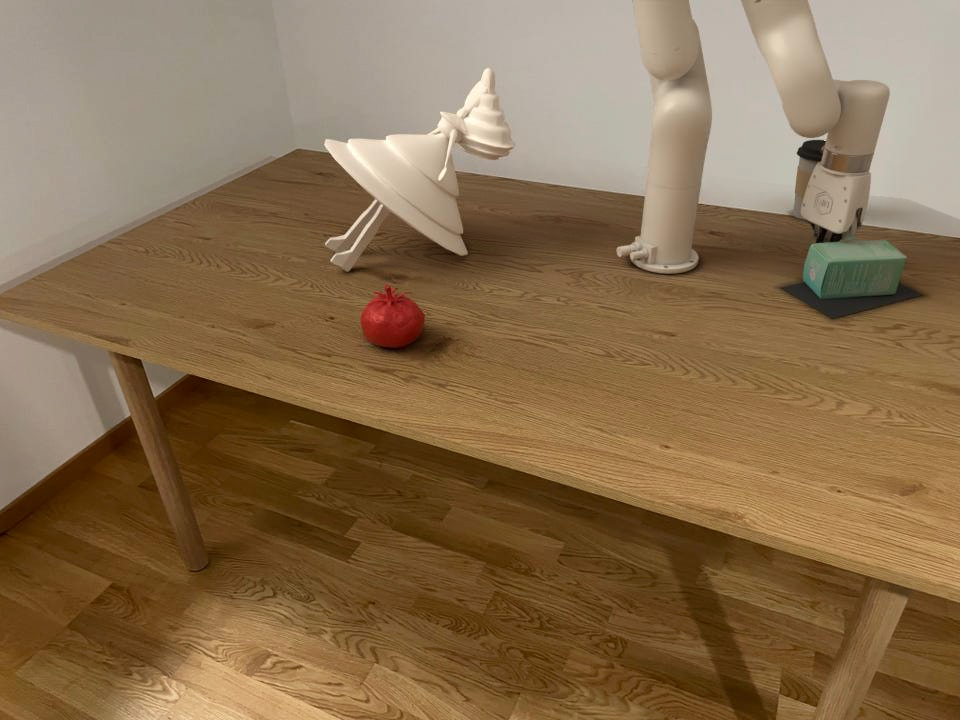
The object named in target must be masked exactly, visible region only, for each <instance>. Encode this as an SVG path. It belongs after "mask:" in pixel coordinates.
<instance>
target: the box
mask: <svg viewBox="0 0 960 720" xmlns="http://www.w3.org/2000/svg"><path fill="white" fill-rule="evenodd" d="M907 258H908V257H907V256H906V255H905V254H904V253H902V252H901V251H900V250H899V249H898V248H896V247H895V246H894V245H893V244H892V243H890V242H889V241H888V240H887V239H872V240H871V239H870V240H868V239H867V240H850V241H848V240H845V241H839V242H828V243H816V244H815V243H812V244H811V245H810V247H809V249H808V252H807V254H806V258H805V261H804V265H803V271H802V282H805V283H806V284H807V285H808V286H809V287H810V288H811V289H812V290H813V291H814V292H815V293H816V295H817V296H818V297H819V298H821V299H833V298H850V297H866V296H880V295H892V294H896V291H897V288H898V285H899V283H900V281H901V279H902V274H903V271H904V268H905V265H906V260H907Z"/></svg>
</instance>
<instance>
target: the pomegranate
mask: <svg viewBox="0 0 960 720" xmlns="http://www.w3.org/2000/svg"><path fill="white" fill-rule="evenodd" d="M398 290H399V288H398V287H393V288H392V287H391V286H390V285H389V284H385V285H384V291H385V292H386V293H383V292H382V291H374V290H373V291H372V293H373V294H375V296H374V297H373V298H372V299H371V300H370V301H369V302H368V303H367V304H366V306H365V307H364V309H363V310H362V313H361V315H360V327H361V331H362V334H363V335H364V337H365V339H367V340H368V341H369V342H370V343H372V344H374V345H376V346H378V347H382V348H383V347H384V348H392V349H399V348H403V347H406V346H407V345H410V344H412V343H414V342H415V341H416V340H417V339H418V338H419V337H420V336H421V334H422V332H423V329H424V326H425V322H426V320H425V319H426V313H425V312H424V310H422V309H421V308H420V306H419V305H418V304H417V303H416V301H414V300H412V299H410V298H409V297H406V296H405V295H407V294H412V292H410V291H405V292H402V293H397V294H396V293H395V292H396V291H398Z"/></svg>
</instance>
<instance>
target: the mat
mask: <svg viewBox="0 0 960 720" xmlns="http://www.w3.org/2000/svg"><path fill="white" fill-rule="evenodd" d="M780 289H781V290H783V291H785V292H786V293H788V294H790V295H791V296H793V297H794V298H796V299H798V300H799V301H801V302H802V303H804V304H806V305H808V306H810V307H811V308H813V309H815V310H816V311H818V312H820V313H821V314H823V315H824V316H826V317H828V318H829V319H830V320H834V319H838V318H843V317H846V316H849V315H853V314H857V313H861V312H865V311H869V310H873V309H877V308H881V307H884V306H889V305H892V304H896V303H900V302H904V301H907V300H911V299H914V298H919V297H923V296H924V294H923V293H921V292H918V291H917V290H914V289H913V288H911V287H908V286H906V285H905V284H903V283H901V282H899V285H898V288H897V291H896V294H892V295H880V296H866V297H850V298H833V299H821V298H819V297H818V296H817V295H816V293H815V292H814V291H813V290H812V289H811V288H810V287H809V286H808V285H807V284H806V283H805V282H804V281H802V282H799V283H794V284H790V285H786V286H781V287H780Z"/></svg>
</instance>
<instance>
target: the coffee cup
mask: <svg viewBox="0 0 960 720" xmlns="http://www.w3.org/2000/svg"><path fill="white" fill-rule="evenodd" d="M824 140H825V139H810V140H805V141H803V142H802V144H801V146H799V147H798V149H797V151H796V155H797V156H798V157H799V158H798V165H797V168H796V177H795V186H794V203H793V211H792V215H793V217H795V218H796V219H798V220H802V221H805V219H804V218H803V217H802V216H801V206H802V202H803V198H804V195H805V192H806V189H807V186H808V183H809V180H810V177H811V175H812V173H813V171H814V169H815V167H816V165H817V163H819V162H821V161H822V157H823V153H821V148H822V147H823V146H824V145H825V143H826V141H824Z"/></svg>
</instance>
